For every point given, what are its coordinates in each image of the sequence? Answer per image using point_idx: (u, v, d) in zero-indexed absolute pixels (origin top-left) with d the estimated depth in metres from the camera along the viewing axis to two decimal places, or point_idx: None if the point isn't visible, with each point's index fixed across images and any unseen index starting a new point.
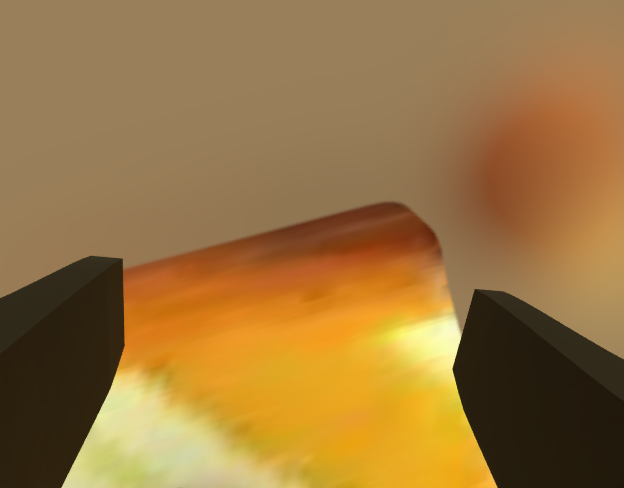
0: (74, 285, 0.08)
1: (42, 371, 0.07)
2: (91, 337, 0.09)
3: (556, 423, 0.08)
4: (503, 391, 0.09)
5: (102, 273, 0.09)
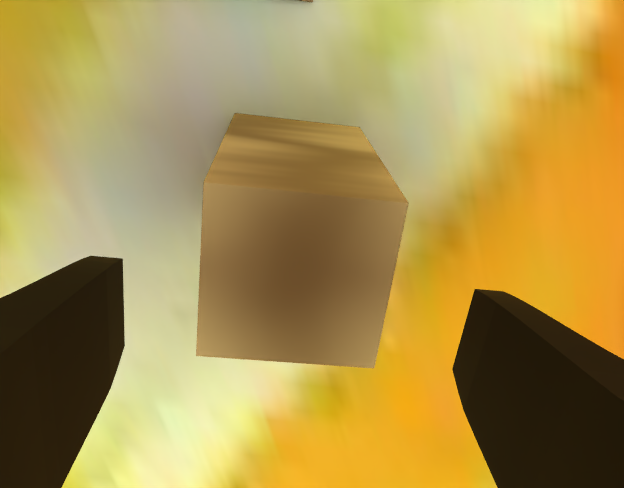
0: (74, 285, 0.08)
1: (42, 371, 0.07)
2: (91, 337, 0.09)
3: (556, 423, 0.08)
4: (503, 392, 0.09)
5: (102, 273, 0.09)
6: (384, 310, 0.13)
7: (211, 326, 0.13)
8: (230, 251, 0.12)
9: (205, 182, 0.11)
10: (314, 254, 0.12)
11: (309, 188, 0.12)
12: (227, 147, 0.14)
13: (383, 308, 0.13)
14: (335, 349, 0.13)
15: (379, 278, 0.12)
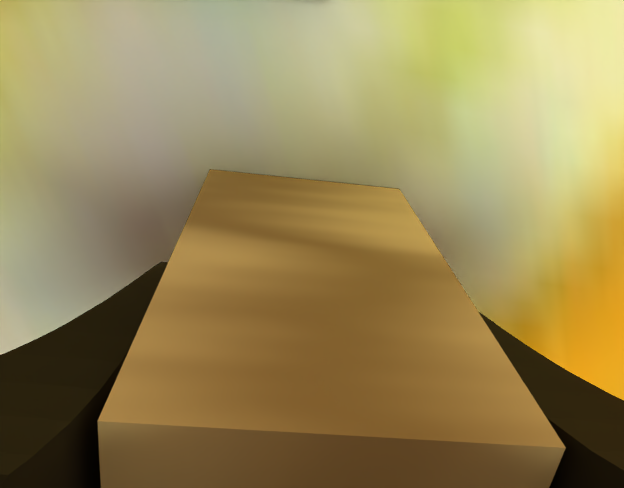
0: None
1: None
2: None
3: None
4: None
5: None
6: None
7: None
8: None
9: (102, 420, 0.05)
10: None
11: (343, 411, 0.05)
12: (181, 266, 0.08)
13: None
14: None
15: None
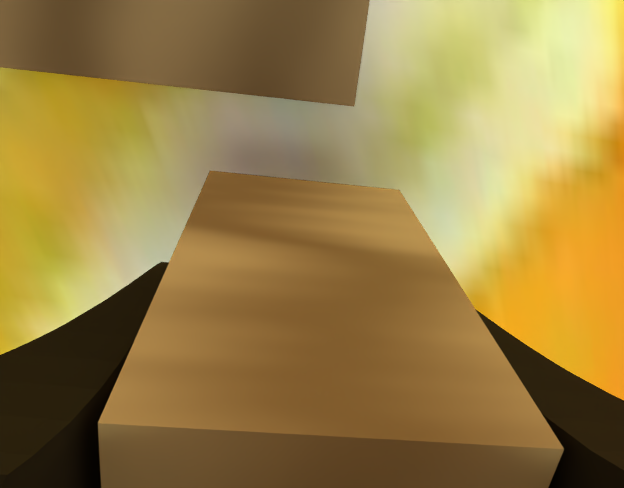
0: None
1: None
2: None
3: None
4: None
5: None
6: None
7: None
8: None
9: (102, 422, 0.05)
10: None
11: (342, 412, 0.05)
12: (181, 268, 0.08)
13: None
14: None
15: None
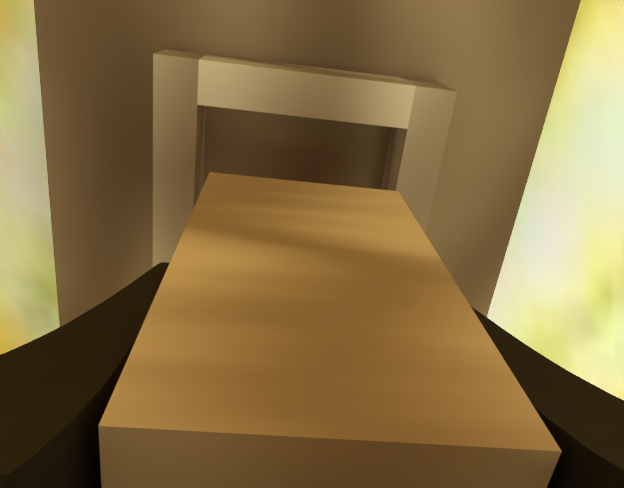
0: None
1: None
2: None
3: None
4: None
5: None
6: None
7: None
8: None
9: (102, 424, 0.05)
10: None
11: (341, 414, 0.05)
12: (181, 270, 0.08)
13: None
14: None
15: None
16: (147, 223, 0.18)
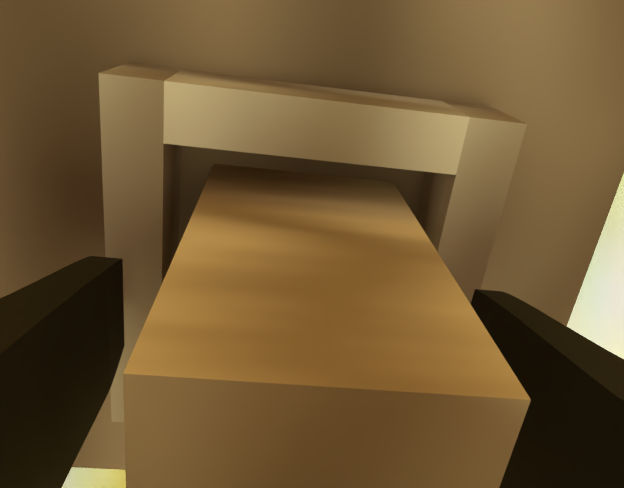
0: (74, 285, 0.08)
1: (42, 371, 0.07)
2: (91, 337, 0.09)
3: (556, 423, 0.08)
4: None
5: (102, 273, 0.09)
6: None
7: None
8: (184, 484, 0.06)
9: (126, 373, 0.05)
10: (345, 485, 0.06)
11: (336, 367, 0.06)
12: (190, 249, 0.08)
13: None
14: None
15: None
16: None
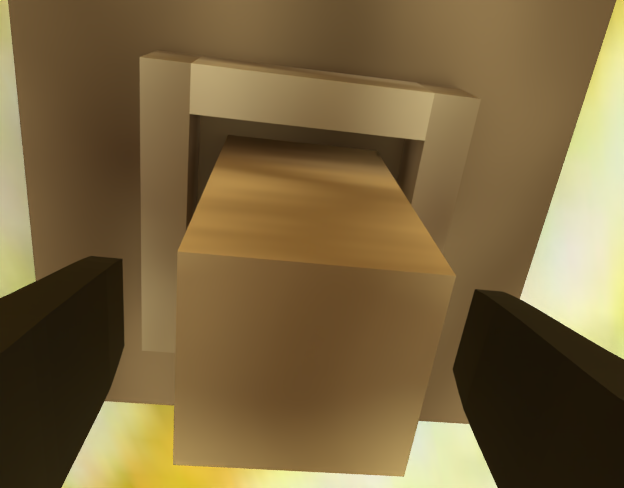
0: (74, 285, 0.08)
1: (42, 371, 0.07)
2: (91, 337, 0.09)
3: (556, 423, 0.08)
4: (503, 392, 0.09)
5: (102, 273, 0.09)
6: (419, 408, 0.10)
7: (191, 429, 0.10)
8: (216, 338, 0.09)
9: (179, 251, 0.08)
10: (328, 341, 0.09)
11: (321, 255, 0.09)
12: (214, 188, 0.11)
13: (418, 406, 0.10)
14: (354, 455, 0.10)
15: (414, 370, 0.09)
16: (136, 241, 0.17)
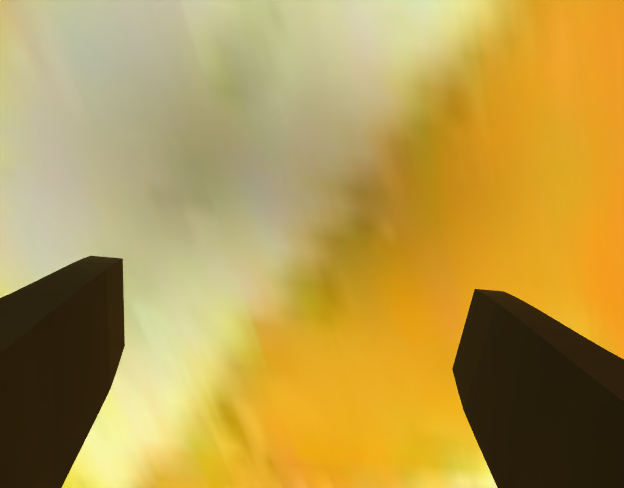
0: (74, 285, 0.08)
1: (42, 371, 0.07)
2: (91, 337, 0.09)
3: (556, 423, 0.08)
4: (503, 391, 0.09)
5: (102, 273, 0.09)
6: None
7: None
8: None
9: None
10: None
11: None
12: None
13: None
14: None
15: None
16: None
